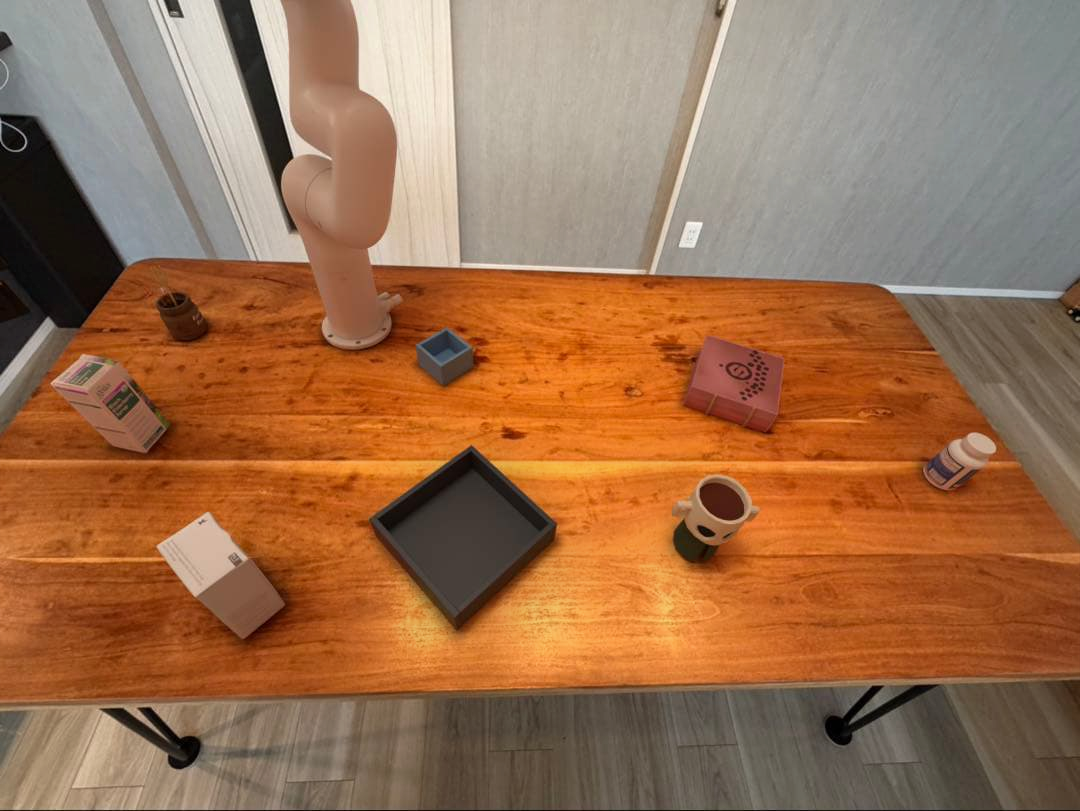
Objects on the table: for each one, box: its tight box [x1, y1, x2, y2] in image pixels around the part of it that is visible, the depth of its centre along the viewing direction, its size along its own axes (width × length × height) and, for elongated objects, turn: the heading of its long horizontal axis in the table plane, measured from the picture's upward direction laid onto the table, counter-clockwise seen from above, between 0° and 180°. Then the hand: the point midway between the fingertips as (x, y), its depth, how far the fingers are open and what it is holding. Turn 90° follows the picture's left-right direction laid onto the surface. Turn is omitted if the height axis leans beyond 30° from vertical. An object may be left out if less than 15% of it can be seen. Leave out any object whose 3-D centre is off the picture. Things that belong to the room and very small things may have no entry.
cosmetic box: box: [156, 511, 286, 640], centre depth 59 cm, size 8×6×15 cm
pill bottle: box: [922, 432, 997, 492], centre depth 81 cm, size 5×5×10 cm
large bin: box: [368, 444, 558, 631], centre depth 70 cm, size 18×18×5 cm
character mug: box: [671, 473, 761, 564], centre depth 69 cm, size 11×7×13 cm, turn 88°
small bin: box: [415, 326, 474, 387], centre depth 91 cm, size 7×7×5 cm
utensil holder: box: [149, 264, 208, 341], centre depth 90 cm, size 6×6×12 cm
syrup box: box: [50, 353, 171, 454], centre depth 74 cm, size 6×6×14 cm
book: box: [683, 334, 786, 433], centre depth 92 cm, size 14×15×5 cm
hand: (2, 294), depth 56 cm, fingers open, 9 cm apart
